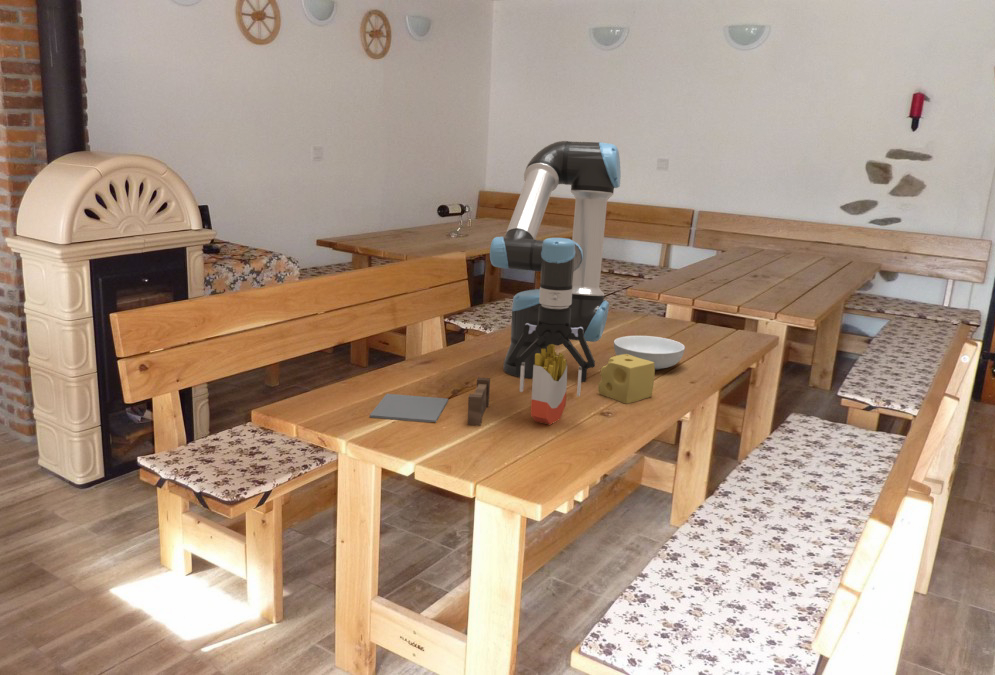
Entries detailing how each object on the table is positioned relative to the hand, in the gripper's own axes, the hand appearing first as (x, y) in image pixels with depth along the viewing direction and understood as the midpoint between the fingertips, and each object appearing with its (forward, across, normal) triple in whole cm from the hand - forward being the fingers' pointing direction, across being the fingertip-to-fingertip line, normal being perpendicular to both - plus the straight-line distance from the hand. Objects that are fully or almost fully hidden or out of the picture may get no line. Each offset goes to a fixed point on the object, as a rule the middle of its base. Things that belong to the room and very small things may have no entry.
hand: (550, 392), depth 198 cm
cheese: (+7, +19, +23) cm, 31 cm away
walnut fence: (+7, -17, 0) cm, 18 cm away
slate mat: (+7, -34, 0) cm, 35 cm away
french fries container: (+7, 0, 0) cm, 7 cm away
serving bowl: (+7, +26, +53) cm, 60 cm away
